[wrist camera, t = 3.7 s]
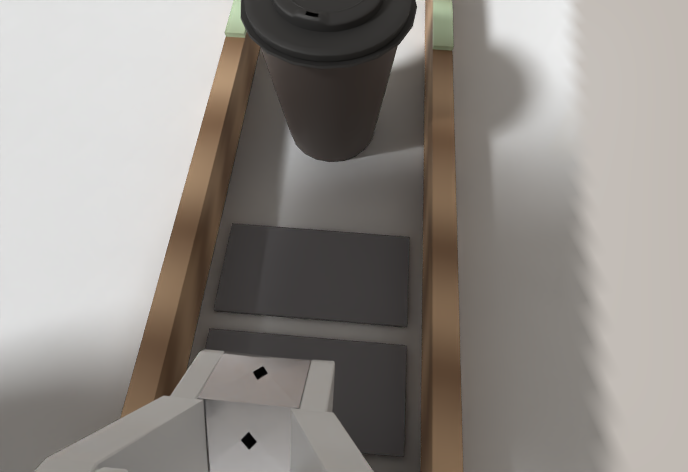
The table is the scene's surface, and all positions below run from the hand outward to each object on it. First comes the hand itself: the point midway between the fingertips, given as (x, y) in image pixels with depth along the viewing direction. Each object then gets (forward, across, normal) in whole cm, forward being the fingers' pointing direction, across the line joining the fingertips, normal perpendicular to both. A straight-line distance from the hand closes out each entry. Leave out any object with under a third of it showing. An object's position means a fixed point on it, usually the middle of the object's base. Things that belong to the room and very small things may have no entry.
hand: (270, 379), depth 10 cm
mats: (+11, +1, +6) cm, 13 cm away
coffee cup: (+21, +1, -3) cm, 21 cm away
